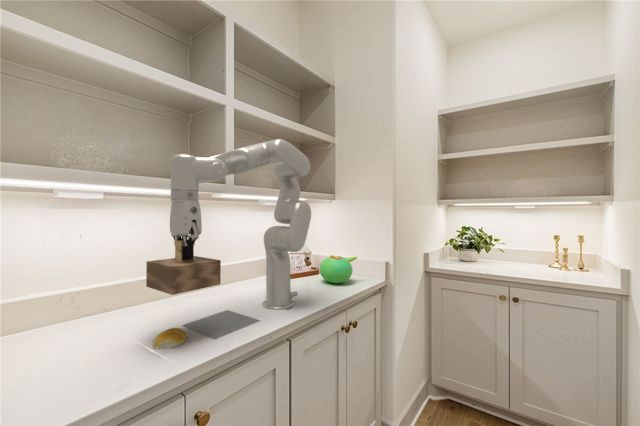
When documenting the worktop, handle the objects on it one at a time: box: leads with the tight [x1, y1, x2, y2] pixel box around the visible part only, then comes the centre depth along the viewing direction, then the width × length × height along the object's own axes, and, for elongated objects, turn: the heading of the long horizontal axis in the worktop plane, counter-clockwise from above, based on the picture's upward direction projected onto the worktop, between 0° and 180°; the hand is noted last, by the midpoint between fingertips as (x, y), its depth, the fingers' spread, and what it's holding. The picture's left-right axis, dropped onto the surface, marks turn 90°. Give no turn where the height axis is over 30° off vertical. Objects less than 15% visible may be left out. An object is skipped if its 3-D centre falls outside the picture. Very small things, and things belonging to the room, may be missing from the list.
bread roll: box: [152, 327, 188, 350], centre depth 84 cm, size 8×9×4 cm
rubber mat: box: [181, 309, 262, 340], centre depth 97 cm, size 18×18×1 cm
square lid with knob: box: [145, 240, 222, 296], centre depth 87 cm, size 15×15×13 cm
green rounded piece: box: [319, 254, 358, 284], centre depth 154 cm, size 18×17×15 cm
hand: (184, 258), depth 87 cm, fingers closed on square lid with knob, 3 cm apart
